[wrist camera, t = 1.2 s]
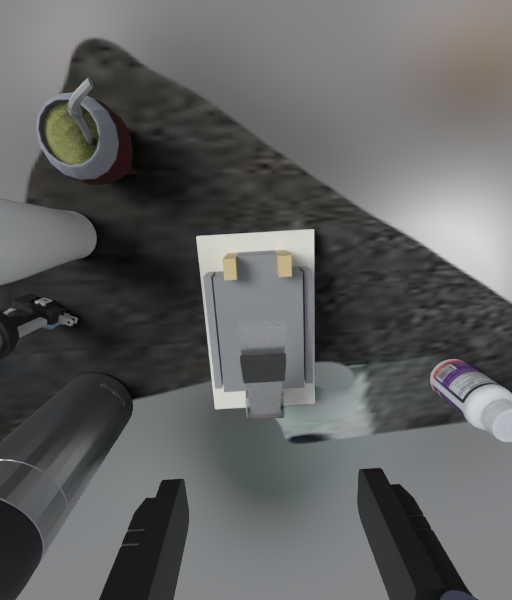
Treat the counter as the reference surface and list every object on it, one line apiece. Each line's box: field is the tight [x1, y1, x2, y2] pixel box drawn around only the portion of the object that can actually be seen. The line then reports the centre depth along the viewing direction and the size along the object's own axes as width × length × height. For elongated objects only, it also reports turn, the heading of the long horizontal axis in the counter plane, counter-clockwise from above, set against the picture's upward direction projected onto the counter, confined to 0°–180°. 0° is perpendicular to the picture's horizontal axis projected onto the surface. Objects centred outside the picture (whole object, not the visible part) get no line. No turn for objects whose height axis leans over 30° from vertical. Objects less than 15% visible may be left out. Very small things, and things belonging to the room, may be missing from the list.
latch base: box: [196, 229, 315, 412], centre depth 32 cm, size 22×13×7 cm, turn 3°
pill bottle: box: [430, 359, 512, 442], centre depth 33 cm, size 5×5×10 cm
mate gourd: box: [36, 77, 140, 185], centre depth 24 cm, size 8×8×15 cm
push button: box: [0, 295, 78, 361], centre depth 30 cm, size 7×5×10 cm
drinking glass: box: [0, 198, 97, 285], centre depth 26 cm, size 7×7×15 cm
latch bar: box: [238, 319, 286, 420], centre depth 26 cm, size 18×4×2 cm
